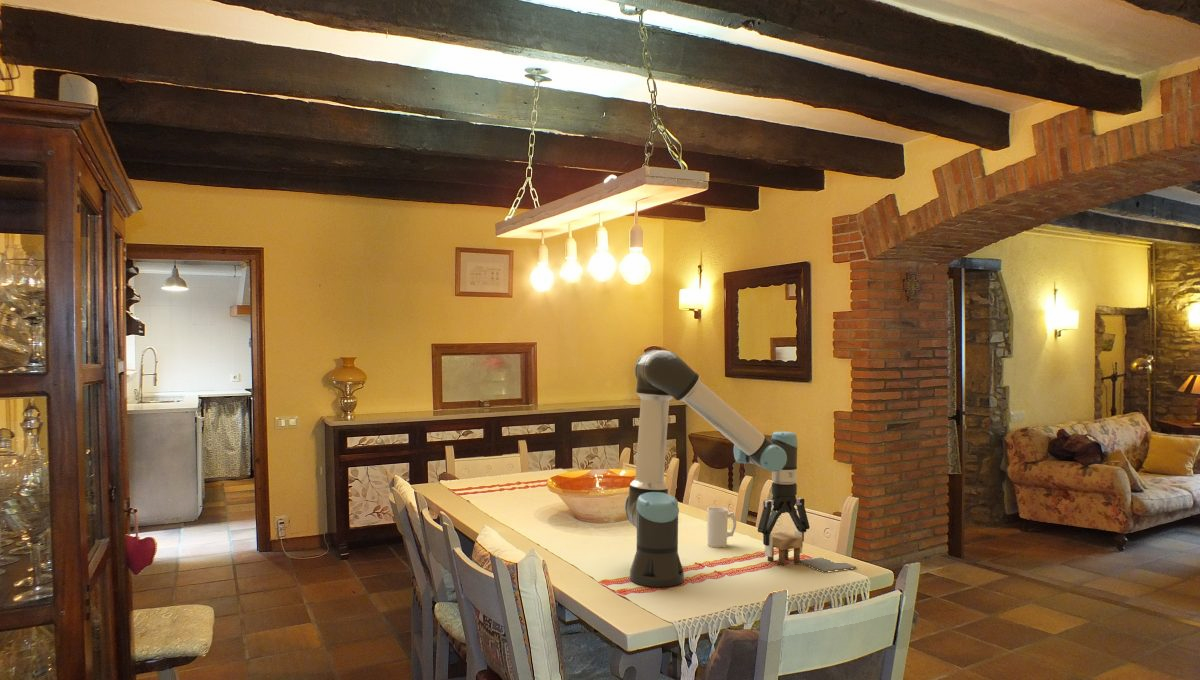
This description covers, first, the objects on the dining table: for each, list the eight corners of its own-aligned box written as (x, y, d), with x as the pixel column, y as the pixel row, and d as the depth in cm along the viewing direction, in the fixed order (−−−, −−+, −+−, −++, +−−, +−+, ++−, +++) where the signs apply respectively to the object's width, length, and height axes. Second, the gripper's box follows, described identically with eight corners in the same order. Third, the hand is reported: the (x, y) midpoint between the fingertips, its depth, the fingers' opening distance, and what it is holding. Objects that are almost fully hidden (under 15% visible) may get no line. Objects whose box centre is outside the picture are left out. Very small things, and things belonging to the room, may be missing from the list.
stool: (780, 566, 229) (781, 539, 229) (765, 559, 236) (765, 533, 236) (802, 563, 232) (802, 537, 232) (786, 557, 239) (786, 531, 239)
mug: (710, 548, 249) (711, 511, 249) (704, 543, 255) (704, 507, 256) (739, 547, 251) (740, 510, 251) (732, 542, 257) (732, 506, 258)
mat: (824, 572, 223) (824, 570, 223) (798, 562, 234) (798, 560, 234) (856, 568, 227) (856, 566, 227) (829, 558, 238) (829, 556, 238)
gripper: (760, 486, 226) (759, 560, 226) (822, 482, 235) (821, 553, 235) (746, 482, 233) (745, 554, 233) (806, 478, 242) (805, 547, 242)
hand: (783, 554), depth 234 cm, fingers open, 10 cm apart
